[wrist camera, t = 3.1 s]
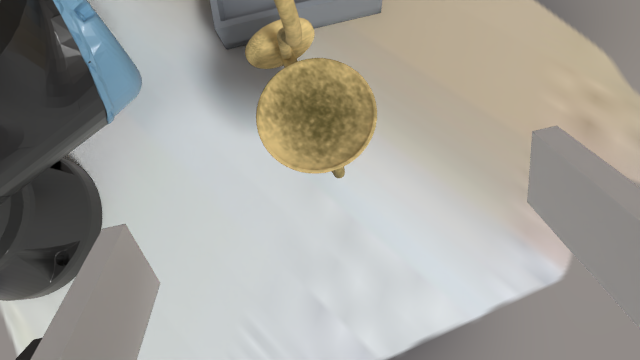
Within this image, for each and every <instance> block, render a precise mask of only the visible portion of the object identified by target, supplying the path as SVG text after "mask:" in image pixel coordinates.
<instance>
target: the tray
mask: <svg viewBox="0 0 640 360" xmlns="http://www.w3.org/2000/svg"><path fill="white" fill-rule="evenodd" d="M294 2H295V6H296V9H297V12H298V16H299V17H300V18H304V19H306V20H308V21H309V22H310V23H311V24H312V26H313V29H314V28H318V27H322V26H327V25H331V24H335V23H339V22H343V21H348V20H352V19H356V18H360V17H365V16H369V15H373V14H377V13H381V7H382V0H294ZM210 4H211V10H212V16H213V21H214V27H215V30H216V32H217V34H218V35H219V37H220V39H221V41H222V42H223V44H224V46H225V48H226V49H229V48H233V47H238V46H242V45H246V44H247V43H248V42H249V40H250V39H251V38H252V36H253V35H254V34H255V33H256V32H258V31H259V30H260V29H262V28H263V27H265V26H266V25H268V24H270V23H272V22H274V21H277V20H280V16H279V13H278V10H277V7H276V5H275V2H274V0H210Z"/></svg>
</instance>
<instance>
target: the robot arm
mask: <svg viewBox="0 0 640 360" xmlns="http://www.w3.org/2000/svg"><path fill="white" fill-rule="evenodd" d="M141 85H142V79H141V75H140V72H139V70H138V69H137V67H136V66H135V64H134V63H133V61H132V60H131V59H130V57H129V56H128V54H127V53H126V52H125V50H124V49H123V48H122V46H121V45H120V44H119V42H118V41H117V40H116V38H115V37H114V36H113V34H112V33H111V32H110V30H109V29H108V28H107V26H106V25H105V24H104V22H103V21H102V20H101V18H100V17H99V16H98V14H97V13H96V12H95V11H94V9H93V8H92V7H91V5H90V4H89V2H88V1H87V0H0V300H6V301H11V300H22V299H32V298H38V297H41V296H44V295H47V294H50V293H52V292H54V291H56V290H58V289H60V288H61V287H63V286H64V285H66V284H67V283H69V282H70V281H71V280H72V279H73V278H74V277H76V278H75V280H74V281H73V283H72V285H71V287H70V289H69V291H68V292H67V294H66V296H65V298H64V300H63V301H62V303H61V305H60V307H59V309H58V311H57V312H56V314H55V316H54V318H53V320H52V321H51V323H50V325H49V327H48V329H47V331H46V332H45V334H44V336H43V338H39V339H35V340H33V341H32V342H31V343H30V344H29V345H28V346H27V347H26V349H25V350H24V351H23V352H22V353H21V354H20V355H19V356H18V357H17V358H16V360H137V357H138V354H139V350H140V347H141V344H142V341H143V338H144V334H145V331H146V328H147V325H148V322H149V318H150V315H151V312H152V309H153V305H154V302H155V299H156V296H157V293H158V289H159V286H160V282H159V280H158V278H157V277H156V275H155V273H154V271H153V270H152V268H151V266H150V265H149V263H148V261H147V260H146V258H145V256H144V255H143V253H142V251H141V249H140V248H139V246H138V244H137V243H136V241H135V239H134V238H133V236H132V234H131V233H130V231H129V229H128V227H127V226H126V224H122V225H118V226H113V227H109V228H105V229H102V231H101V226H102V206H101V201H100V197H99V193H98V191H97V188H96V186H95V184H94V183H93V181H92V179H91V178H90V177H89V175H88V174H87V173H86V172H85V171H84V170H83V169H82V168H81V167H80V166H78V165H77V164H76V163H74V162H72V161H70V160H68V159H66V158H63V157H64V156H66V155H67V154H68V153H70V152H71V151H72V150H74V149H75V148H76V147H78V146H79V145H80V144H82V143H83V142H84V141H85V140H87V139H88V138H89V137H91V136H92V135H93V134H95V133H96V132H97V131H99V130H100V129H101V128H103V127H104V126H105V125H107V124H109V123H111V122H112V121H113V120H114V116H116V115H117V114H118V113H119V112H120V111H121V110H122V109H123V108H124V107H125V106H127V105H128V104H129V103H130V102H131V101H132V100H133V99H134V98H135V97H136V96H137V95H138V93H139V91H140V89H141ZM527 202H528V203H529V204H530V206H531V207H532V208H533V209H534V210H535V211H536V212H537V214H538V215H539V216H540V217H541V218H542V219H543V220H544V221H545V223H546V224H547V225H548V226H549V227H550V228H551V229H552V230H553V232H554V233H555V234H556V235H557V236H558V237H559V238H560V240H561V241H562V242H563V243H564V244H565V245H566V246H567V247H568V249H569V250H570V251H571V252H572V253H573V254H574V255H575V257H576V258H577V259H578V260H579V261H580V262H581V263H582V264H583V266H584V267H585V268H586V269H587V270H588V271H589V272H590V273H591V275H592V276H593V277H594V278H595V279H596V280H597V281H598V283H599V284H600V285H601V286H602V287H603V288H604V289H605V290H606V292H607V293H608V294H609V295H610V296H611V297H612V298H613V299H614V301H615V302H616V303H617V304H618V305H619V306H620V307H621V309H622V310H623V311H624V312H625V313H626V314H627V315H628V316H629V317H630V319H631V320H632V321H633V322H634V323H635V324H636V326H637V327H638V328H639V329H640V187H639V186H638V185H636V184H635V183H634V182H632V181H631V180H630V179H628V178H627V177H625V176H624V175H623V174H621V173H620V172H619V171H617V170H616V169H615V168H613V167H612V166H611V165H609V164H608V163H607V162H605V161H604V160H603V159H601V158H600V157H599V156H597V155H596V154H594V153H593V152H592V151H590V150H589V149H588V148H586V147H585V146H584V145H582V144H581V143H580V142H578V141H577V140H576V139H574V138H573V137H572V136H570V135H569V134H568V133H566V132H565V131H563V130H562V129H561V128H559V127H558V126H553V127H549V128H545V129H540V130H536V131H532V143H531V157H530V171H529V184H528V198H527Z"/></svg>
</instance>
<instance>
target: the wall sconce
mask: <svg viewBox="0 0 640 360" xmlns="http://www.w3.org/2000/svg"><path fill="white" fill-rule="evenodd" d="M274 2H275V5H276V7H277V10H278V13H279V16H280V20H277V21H274V22H272V23H270V24H268V25H266V26H265V27H263V28H262V29H260V30H259V31H258V32H256V33H255V34H254V35H253V36H252V38H251V39H250V40H249V42H248V43H247V46H246V49H245V55H246V58H247V60H248V62H249V63H250V64H251V65H253V66H254V67H257V68H262V69H271V68H276V67H280V66H283V65H284V67H285V68H284V69H282V70H281V71H279V72H278V73H277V74H276V75H275V76H274V77H273V78H272V79H271V80H270V81H269V82H268V84H267V85H266V87H265V88H264V90H263V92H262V94H261V96H260V99H259V102H258V106H257V113H256V122H257V129H258V133H259V136H260V139H261V141H262V143H263V145H264V146H265V148H266V149H267V151H268V152H269V153H270V154H271V155H272V156H273V157H274V158H275V159H276V160H277V161H279V162H280V163H281V164H283V165H285V166H286V167H289V168H291V169H293V170H296V171H300V172H305V173H326V172H330V171H332V173H333V174H334V176H335V177H336V178H342V177H343V176H344V174H345V171H344V166H345V165H347V164H349V163H350V162H352V161H353V160H355V159H356V158H357V157H358V156H359V155H360V154H361V153H362V152H363V151H364V149H365V148H366V147H367V145H368V144H369V142H370V140H371V138H372V136H373V133H374V130H375V127H376V121H377V108H376V102H375V98H374V95H373V93H372V90H371V88H370V87H369V85H368V83H367V82H366V81H365V79H364V78H363V77H362V76H361V75H360V74H359V73H358V72H357V71H355V70H354V69H353V68H351V67H349V66H348V65H346V64H344V63H341V62H339V61H335V60H331V59H325V58H312V59H305V60H301V61H298V62H297V58H298V57H300V56H301V55H302V54H303V53H304V52H305V51H306V50H307V49H308V48H309V47H310V45H311V43H312V41H313V39H314V29H313V26H312V24H311V23H310V22H309V21H308V20H306V19H304V18H300V17H299V16H298V12H297V9H296V6H295V2H294V0H274Z"/></svg>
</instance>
